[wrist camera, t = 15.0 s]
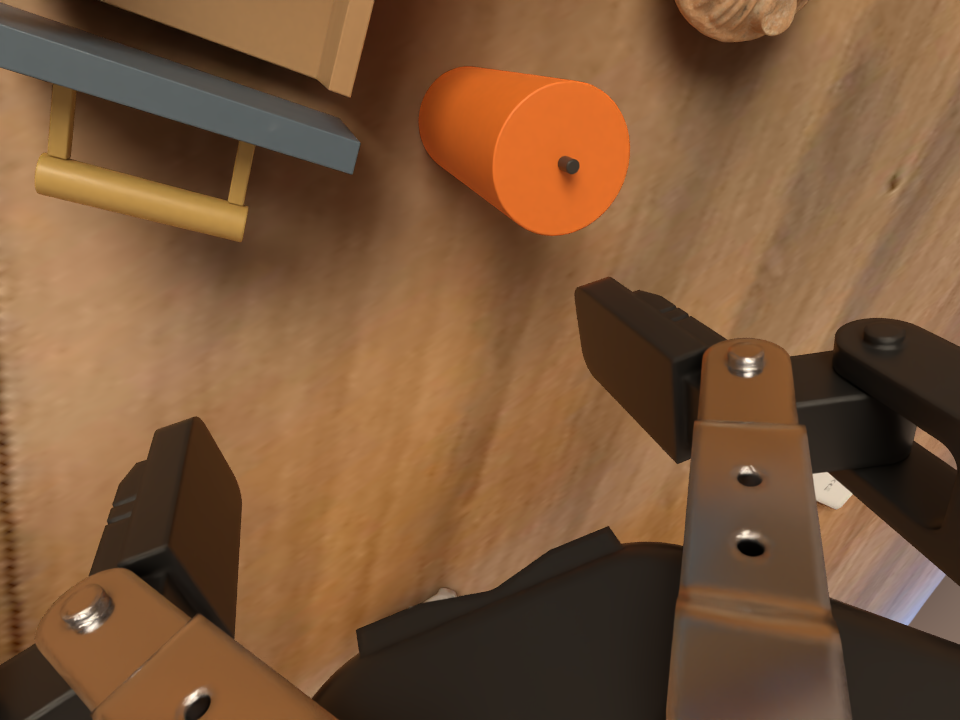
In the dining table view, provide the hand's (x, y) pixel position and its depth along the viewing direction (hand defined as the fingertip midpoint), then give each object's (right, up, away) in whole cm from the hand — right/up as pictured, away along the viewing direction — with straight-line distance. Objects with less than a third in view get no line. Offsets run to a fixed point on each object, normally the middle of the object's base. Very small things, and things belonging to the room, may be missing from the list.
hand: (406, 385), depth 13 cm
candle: (+1, +13, +18) cm, 22 cm away
